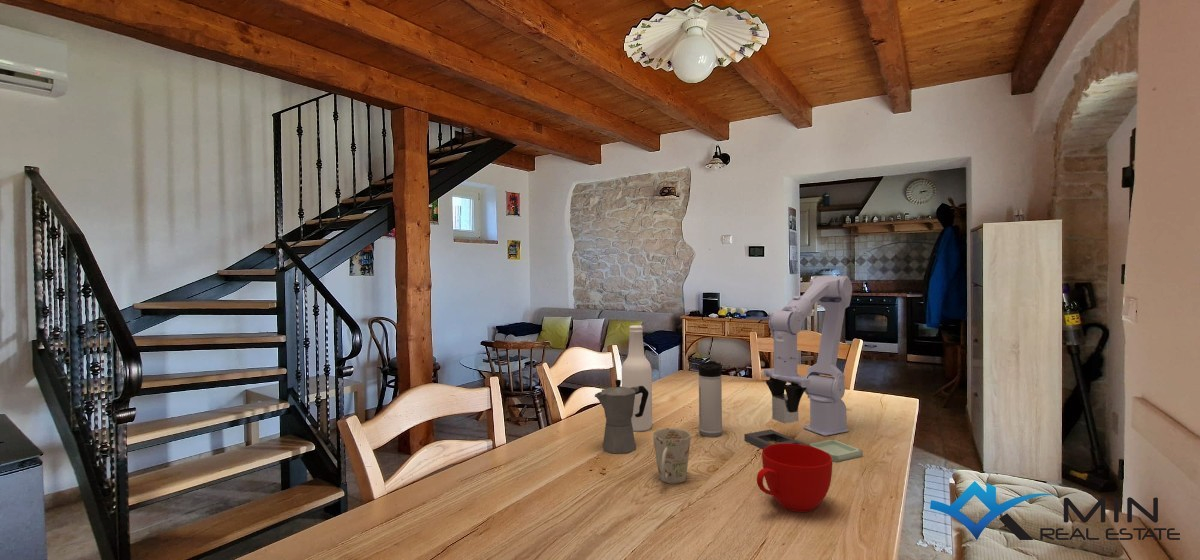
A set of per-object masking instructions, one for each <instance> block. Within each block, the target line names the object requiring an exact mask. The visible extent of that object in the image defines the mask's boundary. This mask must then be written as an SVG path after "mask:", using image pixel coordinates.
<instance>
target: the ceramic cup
mask: <svg viewBox="0 0 1200 560" xmlns="http://www.w3.org/2000/svg"><path fill="white" fill-rule="evenodd" d="M772 444H773V443H772ZM761 460H762V468H761V469H760V470H759V471H758V472H757V475H756V484H757V486H758V489H760V490H761V491H762V492H763V493H765V494H766V495H770V496H773V497H774V498H775V500H776V501H777V502H778V503H779V505H780V506H781V507H783V508H784V509H786V510H789V511H792V512H797V513H808V512H811V511H813V510H815V508H816V507H817V506H818V505H820V504H821V502H823V500H824V499H825V498H826V496H827V494H828V491H829V490H830V486H831V482H832V476H833V461H832V457H831V456H830V455H829V454H828V453H827V452H825V451H823V450H821V449H818V448H815V447H811V446H807V445H801V444H792V443H781V444H773V445H769V446H767V447H765V448H764V449H762V451H761ZM764 479H765V482H766V485H767V487H768V489H767V488H766V487H765V485H764Z"/></svg>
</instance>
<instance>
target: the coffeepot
mask: <svg viewBox="0 0 1200 560" xmlns="http://www.w3.org/2000/svg"><path fill="white" fill-rule="evenodd" d="M639 393H642V394H643V395H642V398H641V404H640V406H639V413H637V414H635V417H641V416H642V415H643V412H644V408H645V405H646V401H647V398H648V390H647V389H646V388H645V387H644V386H638V387H637V386H636V387H631V388H626V387H622V379H615V386H612V387H608V388H603V389H601V391H599V392H597V393H595V394H594V398H596V399H597V400H598V401H599V403H600V405H601V406H602V408H603V410H604V411H603V412H604V417H605V427H604V434H603V435H604V436H603V441H602V450H603V451H604V452H606V453H609V454H614V455H623V454H630V453H632V452H634V451H636V449H637V446H636V440H635V433H634V431H633V427H632V422H631V417H632V416H633V408H634V400H635V394H639Z"/></svg>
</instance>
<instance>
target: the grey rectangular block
mask: <svg viewBox="0 0 1200 560" xmlns="http://www.w3.org/2000/svg"><path fill="white" fill-rule="evenodd" d="M771 404H772V405H771V408H772V409H771V414H772V416H771V417H772V420H775V421H777V422H780V423H782V424H783V425H784V424H791V423H794V422H795V423H797V422H799V409H798V410H797V412H792V413H791V412H789V409H788V398H787V394H786V393H784V394H783V395H776V396H772V395H771Z"/></svg>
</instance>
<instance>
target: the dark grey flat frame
mask: <svg viewBox="0 0 1200 560" xmlns="http://www.w3.org/2000/svg"><path fill="white" fill-rule="evenodd" d="M743 437H744V439H743V440H744V442H746V443H749V444H750V445H752V446H755V447H756V448H759V449H761V450H763V449H764V448H765V447H767V446H769V445H773V444H781V443H792V444H801V445H807V446H810V445H808V444H809V443H806V442H805V443H804V442H802V441H799V440H798V439H795V438H792V437H790V436H789V435H785V434H783V433H780V432H778V431H776V430H774V429H773V430H772V429H766V430H761V431H760V430H759V431H755V432H749V433H748V432H747V433H744V435H743ZM770 441H776V442H773V443H771V442H770ZM811 447H812V446H811ZM828 454H829V453H828Z"/></svg>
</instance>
